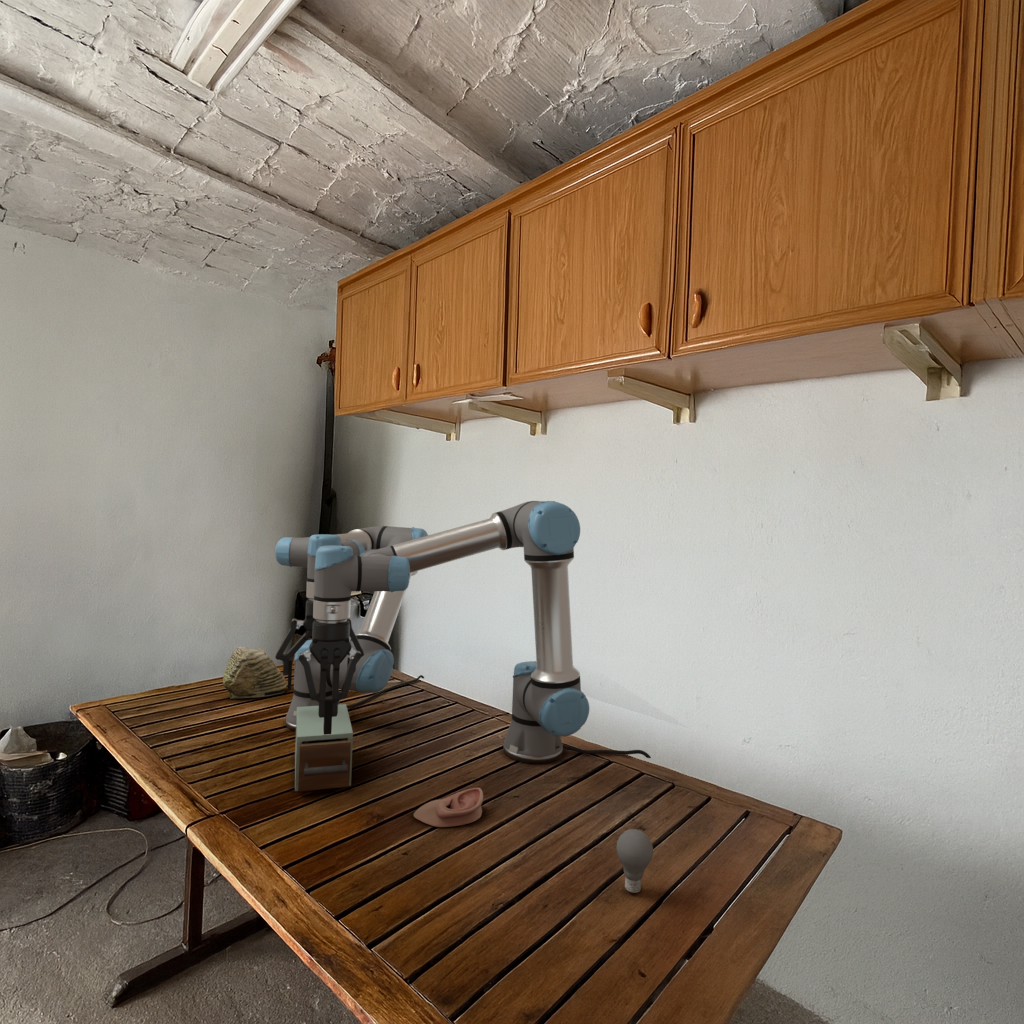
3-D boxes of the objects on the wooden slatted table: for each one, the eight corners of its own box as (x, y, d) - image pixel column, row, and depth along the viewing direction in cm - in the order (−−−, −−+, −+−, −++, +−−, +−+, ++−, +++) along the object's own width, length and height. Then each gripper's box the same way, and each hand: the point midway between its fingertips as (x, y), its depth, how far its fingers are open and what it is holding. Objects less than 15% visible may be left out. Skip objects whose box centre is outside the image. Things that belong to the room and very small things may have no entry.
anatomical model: (408, 802, 124) (427, 778, 135) (407, 822, 124) (427, 796, 136) (473, 812, 122) (488, 786, 133) (473, 832, 122) (487, 805, 133)
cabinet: (350, 785, 139) (353, 732, 139) (294, 791, 136) (297, 737, 135) (344, 750, 158) (346, 703, 158) (294, 754, 154) (296, 706, 154)
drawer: (351, 797, 132) (353, 751, 132) (298, 803, 128) (300, 756, 128) (343, 753, 154) (344, 713, 154) (297, 756, 151) (299, 716, 151)
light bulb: (610, 879, 108) (613, 822, 108) (644, 879, 109) (647, 822, 109) (619, 902, 102) (622, 840, 102) (655, 901, 103) (658, 840, 103)
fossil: (218, 695, 195) (220, 647, 195) (278, 685, 208) (279, 640, 207) (228, 703, 189) (230, 653, 188) (289, 692, 201) (290, 645, 201)
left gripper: (265, 602, 145) (262, 694, 145) (376, 601, 152) (373, 688, 152) (268, 596, 152) (265, 684, 152) (374, 596, 159) (370, 679, 160)
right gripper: (298, 624, 127) (294, 741, 127) (365, 622, 131) (360, 736, 131) (298, 617, 134) (294, 727, 134) (361, 615, 138) (357, 723, 138)
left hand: (319, 687), depth 152 cm, fingers open, 13 cm apart
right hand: (327, 731), depth 133 cm, fingers closed
